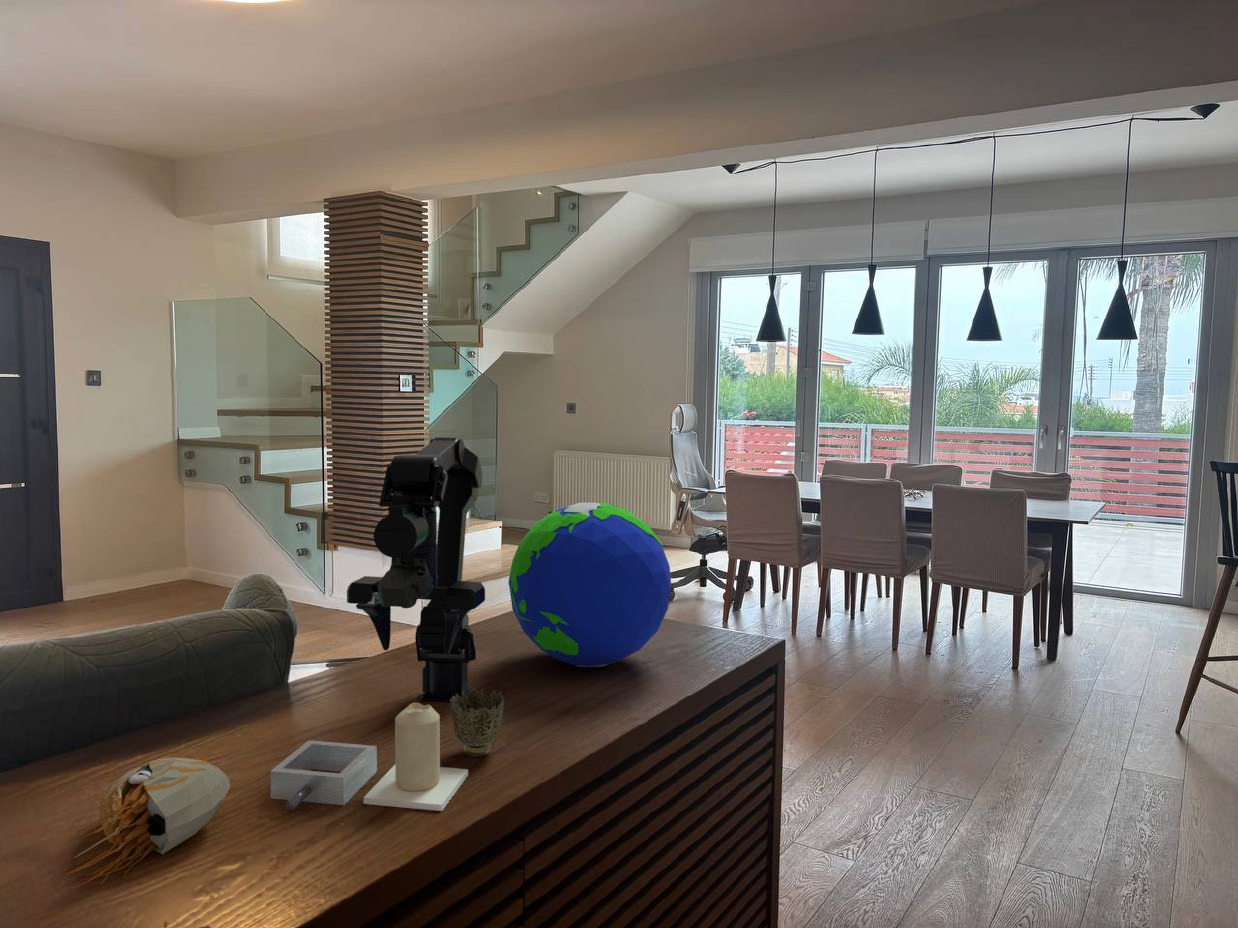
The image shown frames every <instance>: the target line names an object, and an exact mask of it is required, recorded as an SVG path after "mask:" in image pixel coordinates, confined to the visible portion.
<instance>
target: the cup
mask: <svg viewBox="0 0 1238 928" xmlns="http://www.w3.org/2000/svg"><path fill="white" fill-rule="evenodd" d="M449 704H450V710H451V719H452V726H453V730H454V734H455V737H456V739H457V740H458V741H459V742H460V743H461V744H463V751H464V753H465V754H466V755H467V756H469V757H474V758H475V757H476V758H477V757H478V758H479V756H480V757H484V756H485V755H487V754H489V752H490V750H491V747H492V746H491V743H493V741H495V740H496V739H497V738H498V736H499V733H500V730H501V726H502V720H503V712H504V704H505V696H503V695H502V692H496V691H495V690H492V692H491V693H490V695H489V694H484V690H483V689H480V690H479V692H478V691H477V689H476V688H471V690H470V691H469V692H468V693H467V694H466V693H465V691H463V692H462V694H461V697H460V696H459V695H458V694H457V693H456V695H455V697H454V696H452V700H451V699H450V702H449ZM483 755H484V756H483Z"/></svg>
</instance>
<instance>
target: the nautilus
mask: <svg viewBox="0 0 1238 928" xmlns="http://www.w3.org/2000/svg"><path fill="white" fill-rule="evenodd" d="M230 788H231V781H230V779H229V777H228V775H226V773H224V771H223V770H221V768H219V767H217V766H216V765H214V764H213V763H211V762H209V761H206V760H201V759H196V758H195V759H194V758H188V757H165V758H159V759H155V760H151V761H149V762H146V763H144V764H141V765H139V766H137V767H135V768H133V769H131V770H129V771H127V772H126V773H125V774H124V775H122V776H121V777H120V778H118V779H117V780H116V781H115V782H114V783H112V785H111V787H110V789H109V790H108V793H106V794H105V796H104V797H103V798H102V799H101V802H100V805H99V807H98V808H99V810H98V811H99V812H98V813H99V819H97V820H95V821H93V822H92V823H89V824H88V825H86V826H85V827H83V828H81V829H79V830H77V831H76V832H74V834H78V833H80V832H82V831H84V830H85V829H87V828H89V827H91V826H93V825H94V824H96V823H99V822H101V826H100V827H98V828H97V829H96V830H94V831H91V832H90V833H89V834H87V835H85V836H83V839H84V838H87V837H90V835H93V834H97V833H99V832H101V831H102V830H103V833H104V835H105V837H104V838H102V839H101V840H100V841H98V842H96V843H94V844H92V846H91V845H90V847H88V848H87V849H86V850H84V851H82V852H80V853H78V854H77V855H75V856H74V857H73V859H75V858H78V857H79V856H81V855H82V854H85V853H86V852H87V851H89V850H91V849H92V848H95V847H96V846H97V845H99V844H101V843H103V842H104V841H106V840H108V843H111V844H113V845H112V846H111V847H110V848H109V849H107V850H104V851H103V852H102V853H100V854H99V855H97V856H96V857H95V858H93V859H92V860H90V861H88V862H86V863H85V864H83V865H82V866H80V867H77V868H76V869H74V870H72V871H69V872H67V873H65V874H66V876H67V875H70V874H75V873H77V872H80V871H81V870H84V869H87V868H88V867H91V866H93V865H94V864H96V863H98V862H100V861H101V860H103V859H105V858H106V857H108V856H110V855H111V854H113V853H118V852H120V851H122V850H123V851H122V852H121V854H120V855H119V856H118V857H117V858H116V859H114V860H113V861H111V862H109V863H108V864H106V865H105V866H104V867H101V868H99V869H98V870H96V871H94V872H92V873H89V874H86V875H85V877H88V878H85V879H82V878H81V879H80V881H84V882H82V883H81V884H79V885H76V886H73V889H76V888H79V887H81V886H83V885H85V884H87V883H89V882H92V881H93V880H94V879H98V878H100V877H104V879H102V882H100V883H99V885H100V886H101V885H102V884H103V883H104V882H105V881H106V880H107V879H108V877H109V876H111V875H110V874H112V873H114V872H118V871H120V870H123V869H124V868H126V867H128V866H129V868H128V869H127V870H126V872H125V873H124V875H123V878H125V877H126V875H127V874H128V872H129V871H130V870H131V869H132V867H134V865H135V864H136V863H137V862H140V861H142V860H143V859H144V858H145V857H146V856H148V855H149V853H151V852H152V851H156V852H158V853H159V854H161V855H164V854H165V853H167V852H169V851H170V850H172V849H174V848H175V847H177V846H178V845H180V844H181V843H183V842H185V841H186V840H188V839H190V837H192V836H194V835H195V834H196V833H198V832H199V831H200V830H201V829H202V828H204V826H205V825H207V823H209V822H210V820H211V819H212V818H213V816H214V815H215V813H216V812H217V810H218V809H219V808H220V807H221V805H222V803H223V801H224V799H225V796H226V795H227V793H228V792H229V790H230ZM116 846H118V847H117V848H116ZM115 848H116V849H115ZM134 848H135V850H134V853H133V854H132V855H131V856H129V857H128V855H129V854H130V852H131V851H132V850H133V849H134ZM137 858H140V859H138V860H135V859H137ZM128 860H129V861H128ZM125 861H128V862H127V863H126V864H125V865H122V864H123V863H124V862H125ZM133 861H135V862H134V863H132V862H133ZM114 865H116V866H114ZM120 865H122V866H121V867H120ZM130 865H131V866H130ZM113 867H114V868H113ZM111 868H113V869H112V870H110V869H111ZM108 870H110V871H108ZM98 872H99V873H98ZM96 873H97V874H96ZM94 874H96V875H95V876H92V877H89V876H91V875H94Z"/></svg>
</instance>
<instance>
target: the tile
mask: <svg viewBox="0 0 1238 928" xmlns="http://www.w3.org/2000/svg"><path fill="white" fill-rule="evenodd" d="M468 776H469V769H467V768H457V767H456V768H455V767H445V766H440V779H439V783H438V784H437V785H436V786H435V787H433V788H431V789H428V790H424V791H415V792H412V791H405V790H401V789H399V788H398V787H397V786H396V776H395V764H394V765H393V766H391V768H390V769H389V770H388V771H387V772H386V773H385V774H384V775H383V776H382V777H381V779H379V781H378V782H377V783H376V784H375V785H374V786H373V787H372V788H371V789H370V790H369V791H368V792H367V793H366V795H364V797H363V804H364V805H374V806H384V807H395V808H404V809H405V808H406V809H407V808H408V809H413V810H414V809H415V810H416V809H417V810H425V811H426V810H427V811H434V812H435V811H437V812H442V811H444V809H445V807H446V806H447V805H448V803H449V802H450V801H451V800H452V798H453V797H454V795H455V794H456V793H457V791H458V790H459V788H461V786H462V784H463V783H464V782H465V781H466V779H467V778H466V777H468ZM452 796H453V797H452ZM449 800H450V801H449Z"/></svg>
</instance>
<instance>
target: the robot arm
mask: <svg viewBox="0 0 1238 928" xmlns="http://www.w3.org/2000/svg"><path fill="white" fill-rule="evenodd" d="M482 485H483V470H482V466H481V462H480V459H479V456H478V455H476V454H475V453H474V452H472V451H471V450H470V449H469V448H467V447H466V446H465V442H464V440H463V439H460V438H459V437H448V436H447V437H443V436H442V437H441V436H440V437H439V436H438V437H437V436H436V437H434V438H430V440H429V444H427V445H426V446H425V447H423V448H422V449H420V451H418V452H417V453H415V454H400V455H394V457H392V459H391V460H390V463H388V464H387V465H386V470H385V475H384V479H383V484H382V488H381V494H380V497H379V498H380V499H379V504H378V505H379V507H381V508H388V510H387V512H388V514H387V516H384V517H383V518H382V519H380V520H379V522H377V524H376V526H375V529H374V531H373V542H374V544H375V547H376V548H377V549H378V551H379V552H380V553H381V554H383V555H384V556H386V557H388V558H391V564H390V568H389V570H387V571H386V572H385V574H384V575H383V576H368V575H364V576H362V577H361V578H358V579H357V580H354V581H352V582H351V583H350V584H349V585H348V587H347V590H346V603H348V604H356V605H355V607H356V609H358V610H361V611H363V612H364V613H365V614H366V615H368V616H369V619H370V620H371V622H372V624H373V626H374V628H375V631H376V634H377V636H378V640H379V641H380V645H381V647H382V649H383V650H384V651H387V650H389V649H390V643H391V627H392V626H391V620H392V618H391V617H392V614H391V610H392V609H391V607H397V608H398V607H400V608H402V609H410V608H413V607H415V606H416V604H417V602H418V600H426V601H427V600H428V601H429V602H428V603H427V605H426V606H423V607H422V609H421V611H420V618H419V619H420V620H419V621H420V622H419V624H417V626H416V630H415V636H414V637H415V638H414V639H415V640H414V641H415V647H416V655H417V658H416V659H417V662H419V663H420V662H424V663H425V665H424V666H423V667H422V669H421V673H422V674H421V675H422V676H421V677H422V679H421V682H422V683H421V684H422V687H421V689H422V693H423V694H422V695H421V697H420V699H421V700H422V701H423V700H424V701H434V702H435V701H436V702H438V701H439V702H449V703H450V699H451V700H452V696H454V697H455V695H456V693H457V694H458V695H459V696H460V697H461V694H462V692H463V691H465V693H466V694H468V693H469V692H470V691H471V690H472V686H470V685H468V678H469V677H468V673H469V671H468V668H469V667H468V666H469V665H468V664H469V663H470V662H472V661H476V659H477V646H476V641H475V636H474V634H473V631H472V627H471V626H470V625H469V621H470V620H469V618H470V617H469V615H468V613H470V611H472V610H475V609H476V608H477V607H479V606H480V605H482V604H483V603H485V601H486V588H485V586H484V585H483V583H482V582H481V581H466V580H465V581H464V580H463V569H464V568H463V567H464V555H465V554H464V553H465V540H466V539H465V538H466V528H467V527H466V526H467V514H468V512H470V510H471V509H472V508H473V506H474V505H475V503H476V501H477V500H478V497H479V489H481V487H482ZM437 508H438V509H439V515H437V514H438V513H437ZM438 516H439V518H437V517H438ZM437 519H438V520H437ZM437 521H438V522H437ZM437 525H438V527H437Z"/></svg>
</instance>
